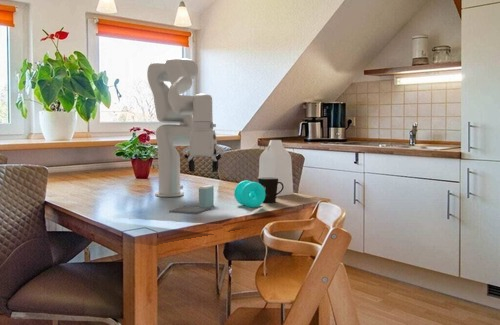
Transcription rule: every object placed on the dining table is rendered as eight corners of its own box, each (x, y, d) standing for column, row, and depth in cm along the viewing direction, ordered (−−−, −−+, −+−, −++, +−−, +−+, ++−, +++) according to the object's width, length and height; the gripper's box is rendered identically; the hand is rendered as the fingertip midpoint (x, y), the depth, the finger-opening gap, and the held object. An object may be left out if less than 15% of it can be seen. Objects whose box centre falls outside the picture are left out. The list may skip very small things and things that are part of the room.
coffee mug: (254, 201, 202) (254, 177, 201) (272, 200, 205) (272, 177, 205) (266, 204, 191) (266, 179, 191) (285, 203, 195) (285, 179, 194)
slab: (206, 205, 189) (206, 185, 189) (213, 205, 188) (213, 185, 188) (198, 207, 183) (198, 187, 182) (205, 208, 182) (205, 187, 181)
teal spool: (242, 208, 180) (242, 182, 179) (233, 205, 189) (233, 180, 188) (266, 207, 184) (266, 181, 183) (256, 204, 193) (256, 179, 192)
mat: (184, 207, 182) (184, 206, 182) (210, 209, 179) (210, 207, 179) (169, 212, 171) (169, 210, 171) (196, 213, 167) (196, 212, 167)
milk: (274, 197, 213) (275, 140, 212) (257, 195, 222) (257, 140, 220) (293, 195, 221) (293, 140, 219) (276, 193, 229) (276, 140, 228)
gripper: (227, 126, 182) (227, 171, 183) (186, 127, 188) (187, 170, 188) (219, 126, 175) (220, 172, 175) (177, 127, 181) (178, 171, 181)
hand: (203, 171), depth 182 cm, fingers open, 9 cm apart
